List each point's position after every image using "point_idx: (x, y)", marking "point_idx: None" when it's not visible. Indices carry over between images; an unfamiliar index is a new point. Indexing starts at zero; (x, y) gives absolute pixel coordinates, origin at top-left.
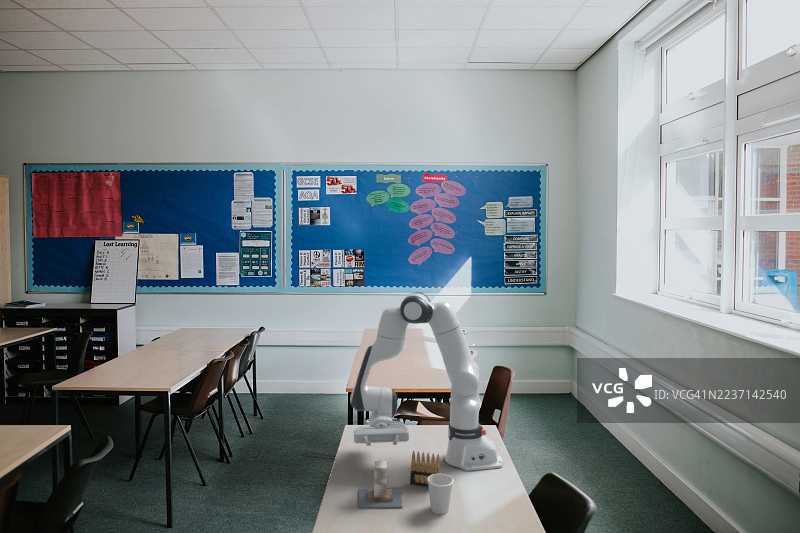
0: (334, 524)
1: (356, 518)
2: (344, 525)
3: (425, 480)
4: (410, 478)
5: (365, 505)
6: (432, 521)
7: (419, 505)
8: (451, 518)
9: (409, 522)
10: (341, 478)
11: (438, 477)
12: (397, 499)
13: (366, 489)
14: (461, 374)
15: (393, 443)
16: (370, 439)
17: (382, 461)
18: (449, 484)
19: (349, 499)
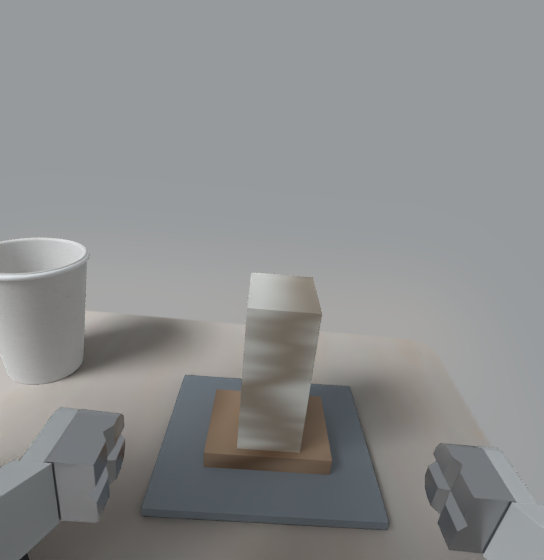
0: (397, 343)
1: (342, 355)
2: (368, 338)
3: None
4: (26, 557)
5: (325, 390)
6: (113, 326)
7: (108, 389)
8: None
9: (184, 329)
10: None
11: (3, 286)
12: (190, 413)
13: (344, 507)
14: None
15: (118, 440)
16: (470, 490)
17: (272, 306)
18: (21, 239)
19: (405, 449)
